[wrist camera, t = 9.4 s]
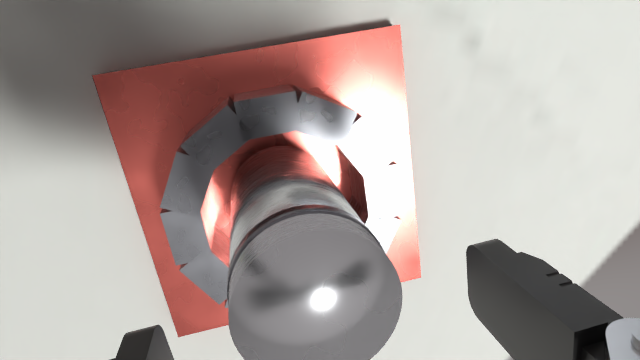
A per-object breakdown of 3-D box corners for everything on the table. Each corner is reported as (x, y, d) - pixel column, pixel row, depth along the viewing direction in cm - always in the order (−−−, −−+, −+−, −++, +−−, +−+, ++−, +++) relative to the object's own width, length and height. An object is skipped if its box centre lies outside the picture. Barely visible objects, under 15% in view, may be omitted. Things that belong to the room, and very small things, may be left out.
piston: (219, 156, 20) (206, 253, 11) (322, 135, 21) (395, 210, 11) (242, 249, 22) (248, 404, 12) (336, 227, 22) (410, 358, 13)
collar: (99, 74, 19) (64, 81, 15) (392, 25, 21) (426, 21, 17) (180, 325, 23) (169, 378, 20) (414, 268, 25) (444, 307, 21)
